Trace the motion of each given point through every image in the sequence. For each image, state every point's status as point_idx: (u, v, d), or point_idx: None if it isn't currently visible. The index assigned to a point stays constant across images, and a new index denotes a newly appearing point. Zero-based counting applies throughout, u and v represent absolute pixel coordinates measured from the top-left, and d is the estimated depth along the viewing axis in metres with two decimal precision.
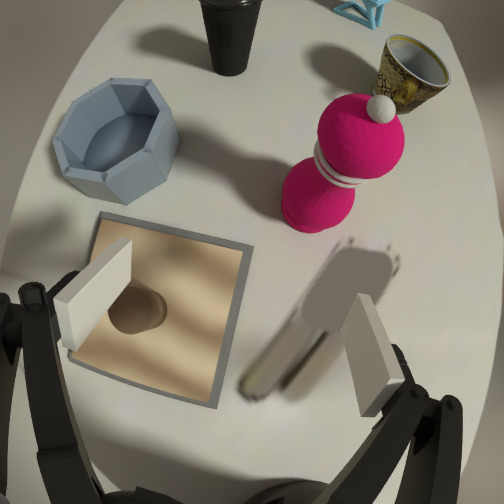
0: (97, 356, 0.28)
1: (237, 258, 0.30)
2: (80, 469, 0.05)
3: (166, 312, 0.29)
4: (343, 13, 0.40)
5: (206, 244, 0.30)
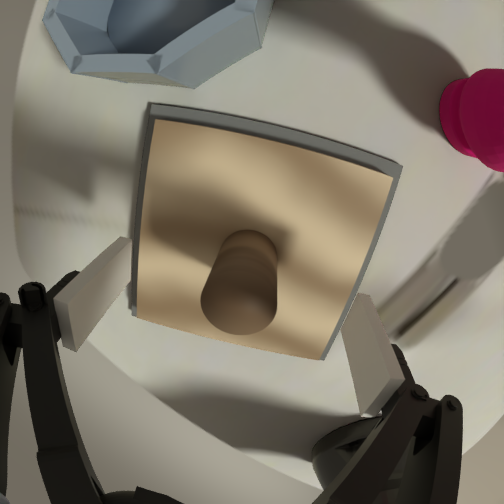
0: (174, 315, 0.24)
1: (385, 187, 0.18)
2: (80, 469, 0.05)
3: (277, 263, 0.21)
4: None
5: (341, 162, 0.18)
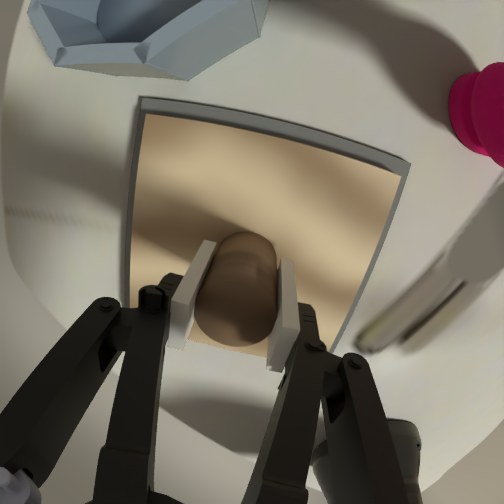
0: None
1: (392, 186, 0.17)
2: (141, 477, 0.05)
3: None
4: None
5: (346, 159, 0.16)
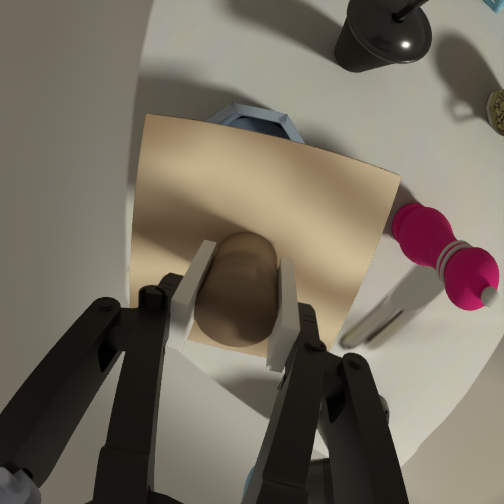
0: None
1: (393, 186, 0.17)
2: (141, 477, 0.05)
3: None
4: None
5: (346, 159, 0.16)
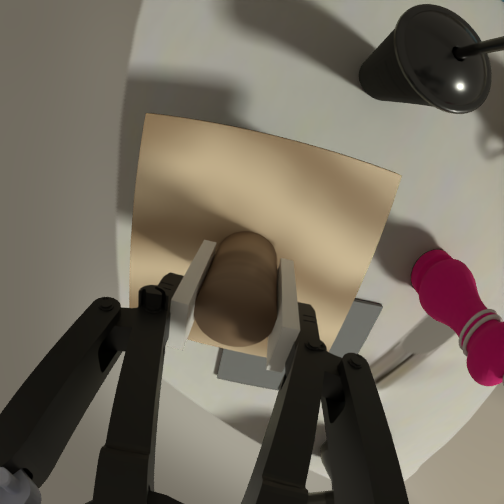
0: None
1: (393, 186, 0.17)
2: (141, 477, 0.05)
3: (277, 266, 0.19)
4: None
5: (346, 159, 0.16)
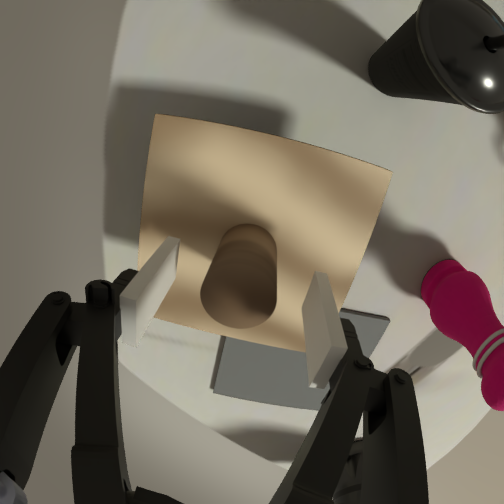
0: (174, 309, 0.24)
1: (384, 181, 0.18)
2: (114, 471, 0.05)
3: (276, 256, 0.21)
4: None
5: (341, 156, 0.18)
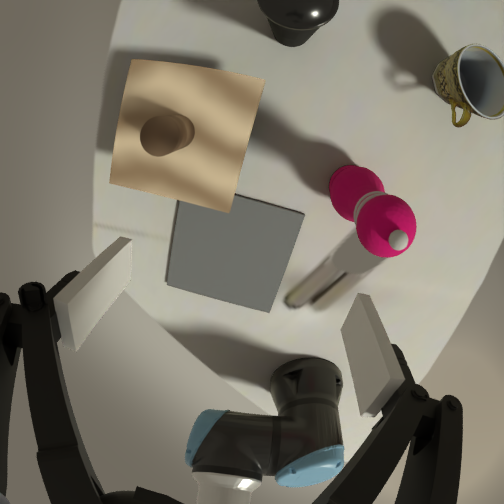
0: (133, 177, 0.34)
1: (259, 85, 0.29)
2: (80, 469, 0.05)
3: (193, 133, 0.31)
4: None
5: (231, 73, 0.28)
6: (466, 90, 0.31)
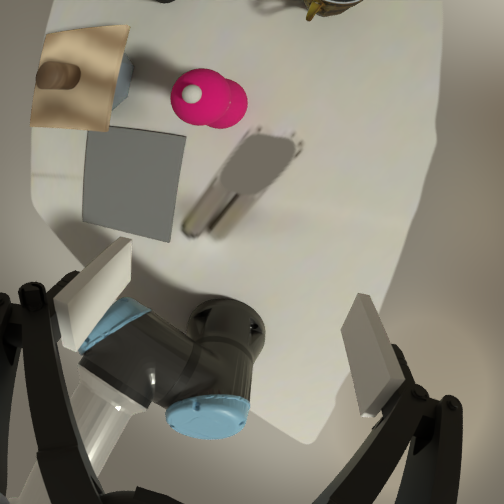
0: (43, 118, 0.35)
1: (123, 29, 0.29)
2: (80, 469, 0.05)
3: (79, 75, 0.32)
4: None
5: (104, 26, 0.29)
6: (343, 2, 0.31)
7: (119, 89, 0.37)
